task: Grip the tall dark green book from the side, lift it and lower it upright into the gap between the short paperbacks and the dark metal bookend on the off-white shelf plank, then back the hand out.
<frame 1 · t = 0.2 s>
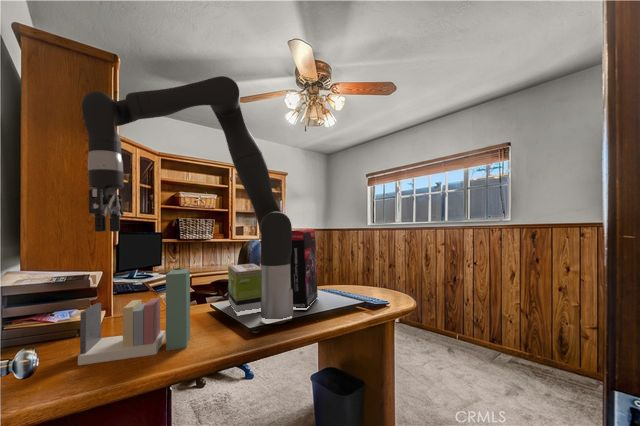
hand: (108, 231, 76), 29 cm above the table, tool pointing down, fingers open, 8 cm apart
graphics card box: (303, 305, 104), on the table
book: (178, 343, 72), on the table
bookend: (91, 355, 67), resting on shelf
tea box: (246, 309, 101), on the table
shelf: (126, 350, 69), on the table
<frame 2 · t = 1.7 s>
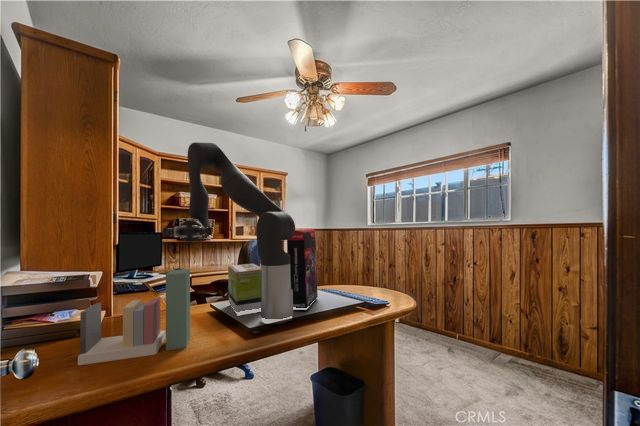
hand: (185, 232, 87), 28 cm above the table, tool horizontal, fingers open, 8 cm apart
nothing on the table moved.
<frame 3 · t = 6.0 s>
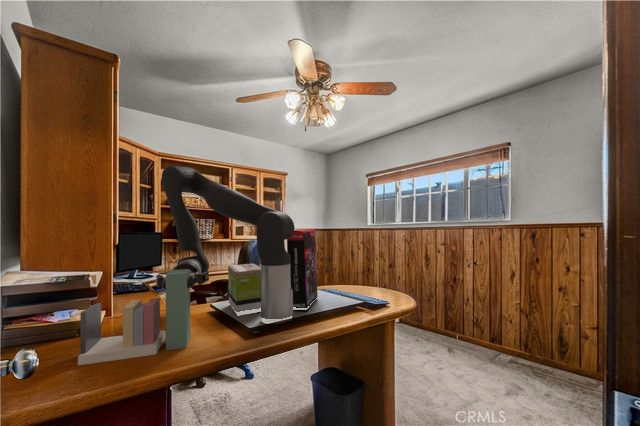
hand: (177, 284, 71), 15 cm above the table, tool horizontal, fingers closed on book, 4 cm apart
book: (178, 343, 72), on the table, touching gripper
everything else where it was.
when the fingers open (18 cm above the table, at t = 12.7 s): book drops 1 cm, resting on shelf.
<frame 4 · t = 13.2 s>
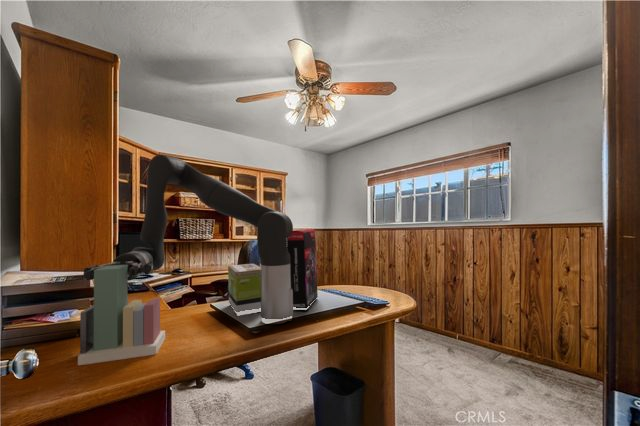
hand: (109, 274, 68), 19 cm above the table, tool horizontal, fingers open, 8 cm apart
book: (111, 343, 68), point 2 cm above the table, touching shelf
everything else where it was.
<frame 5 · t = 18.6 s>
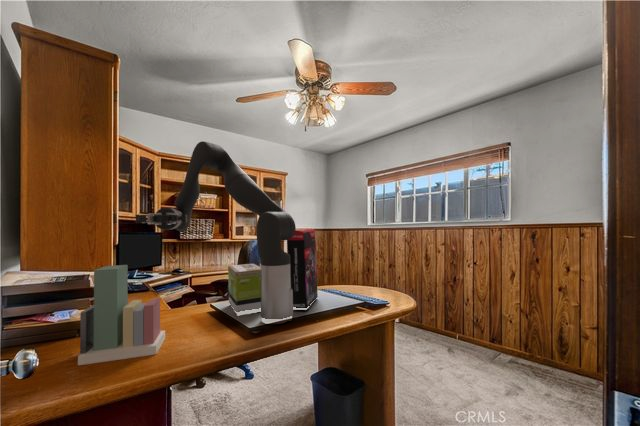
hand: (157, 218, 86), 32 cm above the table, tool horizontal, fingers open, 8 cm apart
nothing on the table moved.
at the end: book 0.3 cm from the target spot on the shelf, point 2.0 cm above the shelf's base; book tilted 0°; the gripper is holding nothing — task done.
